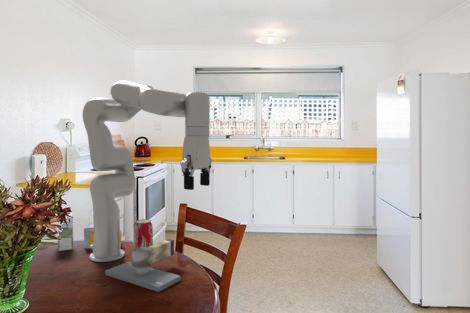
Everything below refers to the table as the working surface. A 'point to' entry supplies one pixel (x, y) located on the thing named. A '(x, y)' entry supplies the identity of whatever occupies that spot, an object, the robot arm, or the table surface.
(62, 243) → the syrup box
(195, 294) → the table surface
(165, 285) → the mount plate
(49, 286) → the table surface
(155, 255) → the lever handle
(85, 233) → the medicine box
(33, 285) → the table surface
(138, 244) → the soda can
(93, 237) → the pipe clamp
